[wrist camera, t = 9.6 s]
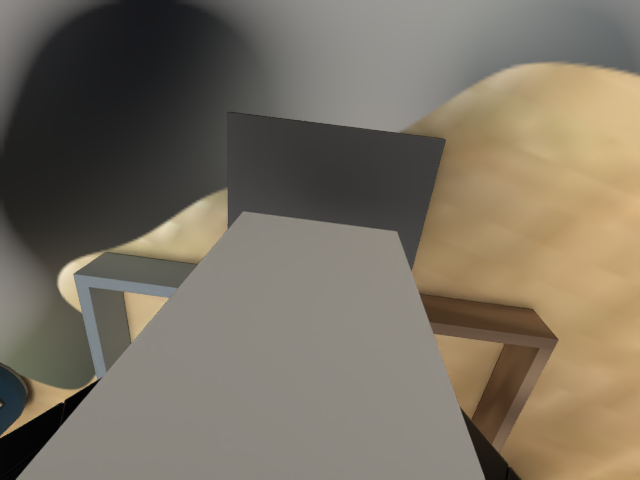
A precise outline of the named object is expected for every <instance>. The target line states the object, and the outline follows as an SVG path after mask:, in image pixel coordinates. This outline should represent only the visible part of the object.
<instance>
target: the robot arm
mask: <svg viewBox="0 0 640 480" xmlns="http://www.w3.org/2000/svg"><path fill="white" fill-rule="evenodd" d="M101 379H102V378H100V379H98V380H97V381H95V382H93V383H92V384H90V385H89V386H87V387H85V388H84V389H82V390H80V391H79V392H77V393H76V394H74V395H72V396H71V397H69V398H67V399H66V400H65V401H64V403H62V402H61V403H59V404H57V405H56V406H54V407H53V408H51V409H49V410H48V411H46V412H44V413H43V414H41V415H39V416H38V417H36V418H34V419H33V420H31V421H29V422H28V423H26V424H24V425H23V426H21V427H19V428H17V429H16V430H14V431H12V432H11V433H9V434H7V435H5V436H3V437H2V438H0V480H16V479H17V478H18V476H19V475H20V474H21V473H22V472H23V470H24V469H25V468H26V467H27V466H28V465H29V463H30V462H31V461H32V460H33V459H34V458H35V456H36V455H37V454H38V453H39V452H40V450H41V449H42V448H43V447H44V446H45V445H46V443H47V442H48V441H49V440H50V439H51V437H52V436H53V435H54V434H55V433H56V432H57V430H58V429H59V428H60V427H61V426H62V425H63V423H64V422H65V421H66V420H67V419H68V417H69V416H70V415H71V414H72V413H73V412H74V410H75V409H76V408H77V407H78V406H79V404H80V403H81V402H82V401H83V400H84V399H85V397H86V396H87V395H88V394H89V393H90V391H91V390H92V389H93V388H94V387H95V386H96V384H97V383H98V382H99V381H100V380H101ZM459 407H460V406H459ZM460 410H461V413H462V415H463V418H464V421H465V424H466V427H467V429H468V432H469V435H470V438H471V441H472V443H473V446H474V449H475V452H476V455H477V457H478V460H479V463H480V466H481V469H482V471H483V474H484V477H485V480H522V479H521V478H520V477H519V476H518V475H517V473H516V472H515V471H514V470H513V469H512V468H511V467H508V463H507V462H506V461H505V459H504V458H503V457H502V456H501V455H500V454H499V452H498V451H497V450H496V449H495V448H494V446H493V445H492V444H491V443H490V442H489V441H488V439H487V438H486V437H485V436H484V435H483V434H482V432H481V431H480V430H479V429H478V428H477V426H476V425H475V424H474V423H473V422H472V421H471V419H470V418H469V417H468V416H467V415H466V413H465V412H464V411H463V410H462V409H461V408H460Z"/></svg>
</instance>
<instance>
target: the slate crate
mask: <svg viewBox="0 0 640 480" xmlns="http://www.w3.org/2000/svg"><path fill="white" fill-rule="evenodd" d="M196 266H197V264H189V263H182V262H174V261H167V260H159V259H152V258H144V257H137V256H130V255H122V254H115V253H107V252H105V253H104V254H102V255H101V256H99V257H98V258H96V259H95V260H93V261H92V262H90V263H89V264H87V265H86V266H84V267H83V268H81V269H80V270H78V271H77V272H76V273H74V274H73V275H74V279H75V283H76V288H77V292H78V297H79V301H80V305H81V310H82V314H83V319H84V323H85V328H86V332H87V336H88V341H89V345H90V350H91V354H92V358H93V363H94V367H95V372H96V376H97V380H98V379H100V378H102V377H103V376H104V375H105V374H106V373H107V371H108V370H109V369H110V368H111V367H112V366H113V364H114V363H115V362H116V361H117V360H118V358H119V357H120V356H121V355H122V354H123V353H124V351H125V350H126V349H127V348H128V347H129V345H130V344H131V341H130V334H129V328H128V322H127V315H126V309H125V303H124V297H123V292H131V293H138V294H145V295H153V296H160V297H167V298H170V297H171V296H172V295H173V294H174V292H175V291H176V290H177V289H178V288H179V287H180V285H181V284H182V283H183V282H184V281H185V279H186V278H187V277H188V276H189V275H190V274H191V272H192V271H193V270H194V269H195V268H196Z"/></svg>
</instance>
